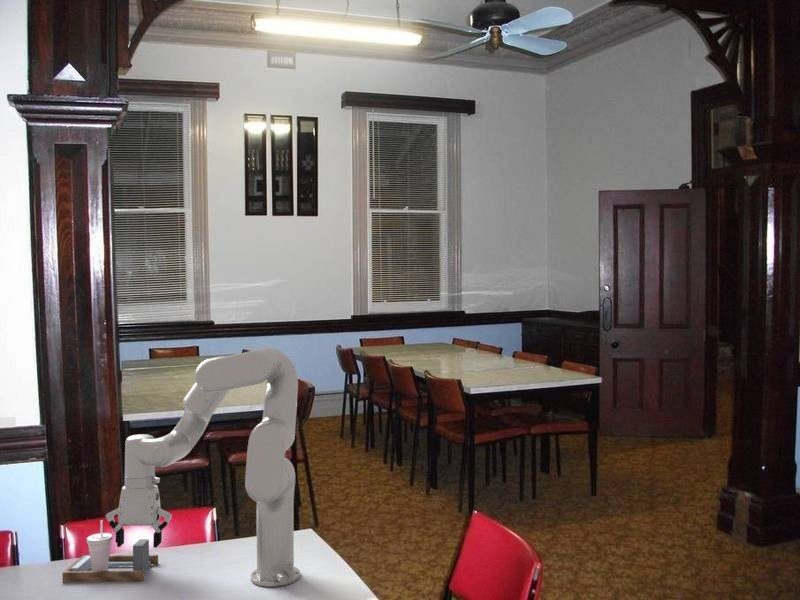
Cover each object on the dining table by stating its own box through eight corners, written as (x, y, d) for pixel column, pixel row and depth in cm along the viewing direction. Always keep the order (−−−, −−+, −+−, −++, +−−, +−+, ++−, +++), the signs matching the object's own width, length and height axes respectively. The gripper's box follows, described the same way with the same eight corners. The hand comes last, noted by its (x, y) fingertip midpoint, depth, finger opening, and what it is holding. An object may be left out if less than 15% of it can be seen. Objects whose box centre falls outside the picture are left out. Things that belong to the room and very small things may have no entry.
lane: (158, 563, 199) (158, 554, 199) (142, 581, 187) (142, 571, 186) (83, 564, 199) (83, 555, 199) (62, 582, 186) (62, 572, 186)
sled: (151, 565, 197) (151, 536, 197) (139, 579, 188) (139, 548, 188) (86, 566, 197) (86, 537, 197) (71, 579, 188) (71, 549, 188)
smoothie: (106, 577, 189) (106, 524, 189) (82, 577, 189) (82, 524, 189) (116, 568, 196) (116, 516, 196) (93, 568, 196) (92, 516, 196)
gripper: (176, 478, 196) (175, 541, 197) (112, 477, 196) (111, 540, 196) (167, 486, 189) (166, 551, 189) (101, 485, 189) (100, 550, 189)
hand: (138, 545), depth 193 cm, fingers open, 9 cm apart
